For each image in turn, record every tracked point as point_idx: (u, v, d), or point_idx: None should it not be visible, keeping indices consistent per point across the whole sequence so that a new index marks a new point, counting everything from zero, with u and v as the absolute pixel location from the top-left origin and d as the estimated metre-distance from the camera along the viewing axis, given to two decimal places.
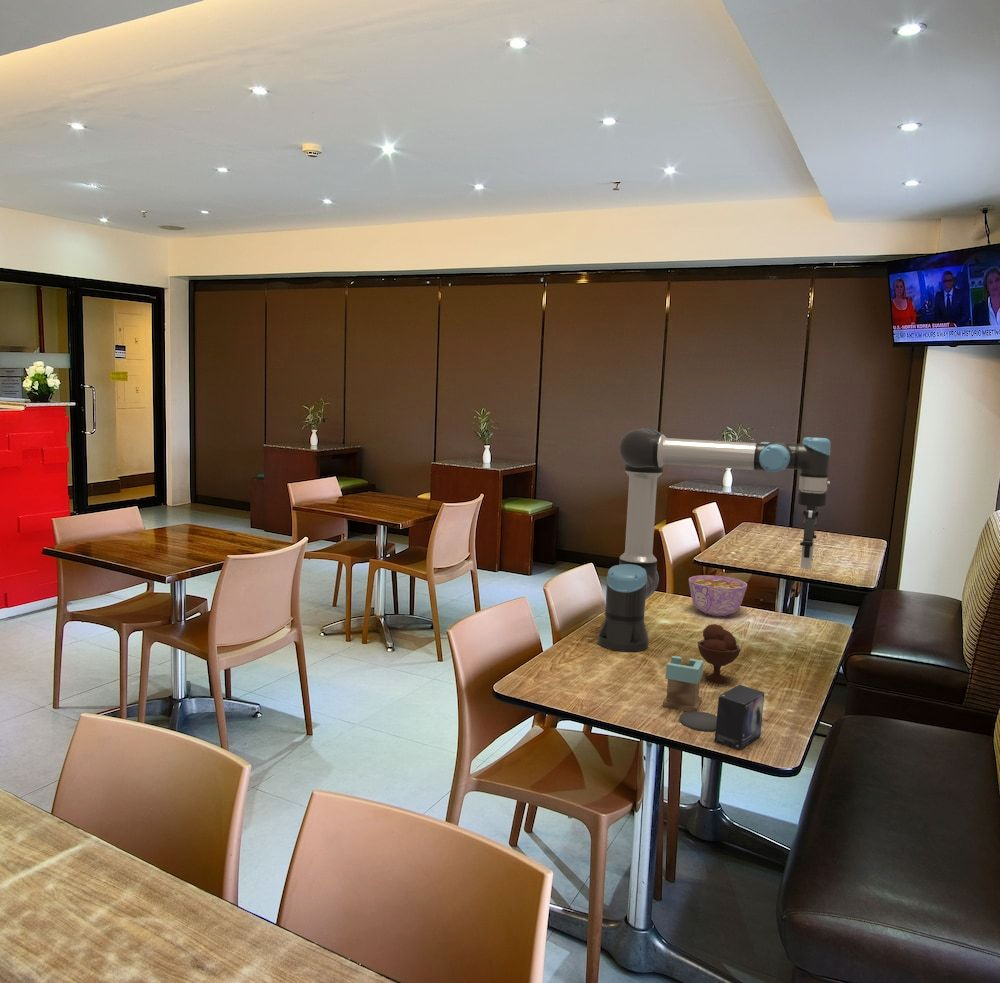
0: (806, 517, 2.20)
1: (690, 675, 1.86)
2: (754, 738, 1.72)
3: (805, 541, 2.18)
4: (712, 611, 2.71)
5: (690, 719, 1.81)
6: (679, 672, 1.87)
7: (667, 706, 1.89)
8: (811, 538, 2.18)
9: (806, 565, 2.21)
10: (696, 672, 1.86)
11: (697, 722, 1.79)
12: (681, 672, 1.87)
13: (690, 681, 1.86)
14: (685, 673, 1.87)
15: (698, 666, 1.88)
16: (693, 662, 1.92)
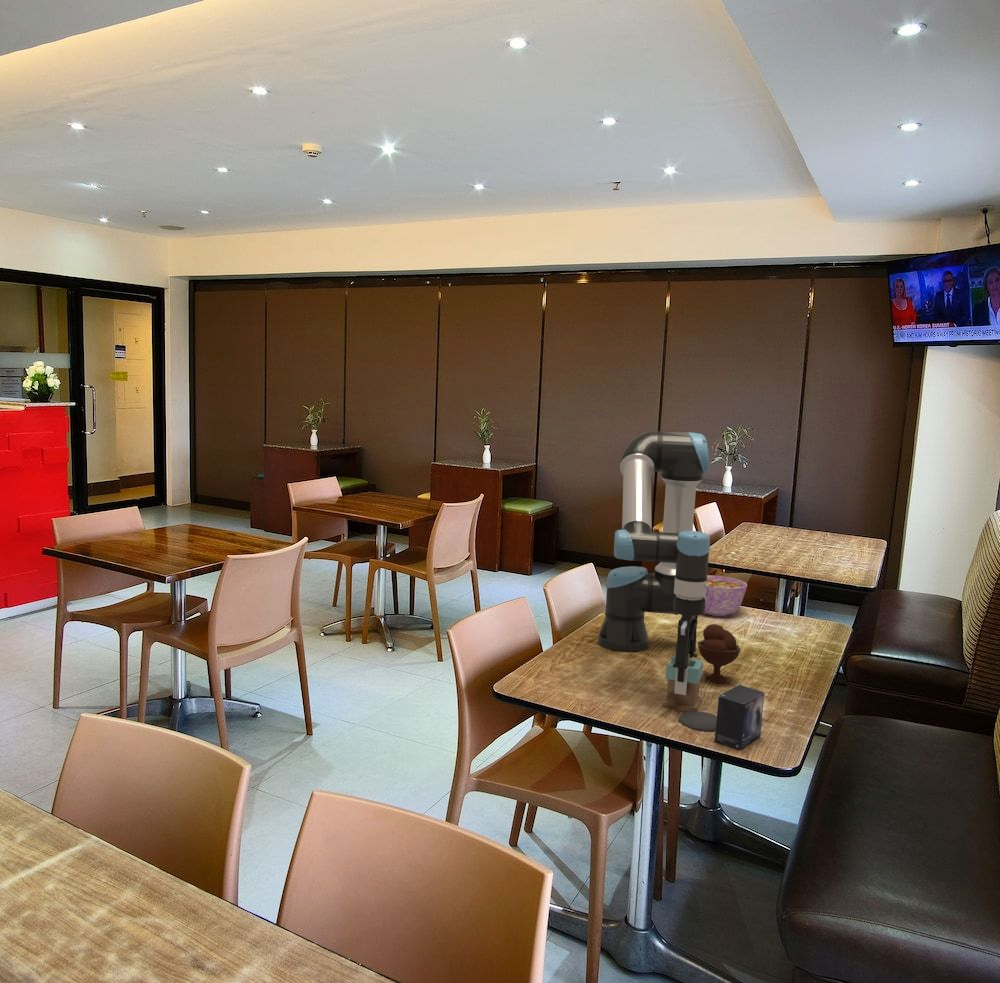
0: (678, 634, 1.84)
1: (690, 675, 1.86)
2: (754, 738, 1.72)
3: (677, 664, 1.84)
4: (712, 611, 2.71)
5: (690, 719, 1.81)
6: None
7: (667, 706, 1.89)
8: (684, 661, 1.83)
9: (681, 690, 1.87)
10: (696, 672, 1.86)
11: (697, 722, 1.79)
12: None
13: (690, 681, 1.86)
14: None
15: (698, 666, 1.88)
16: (693, 662, 1.92)
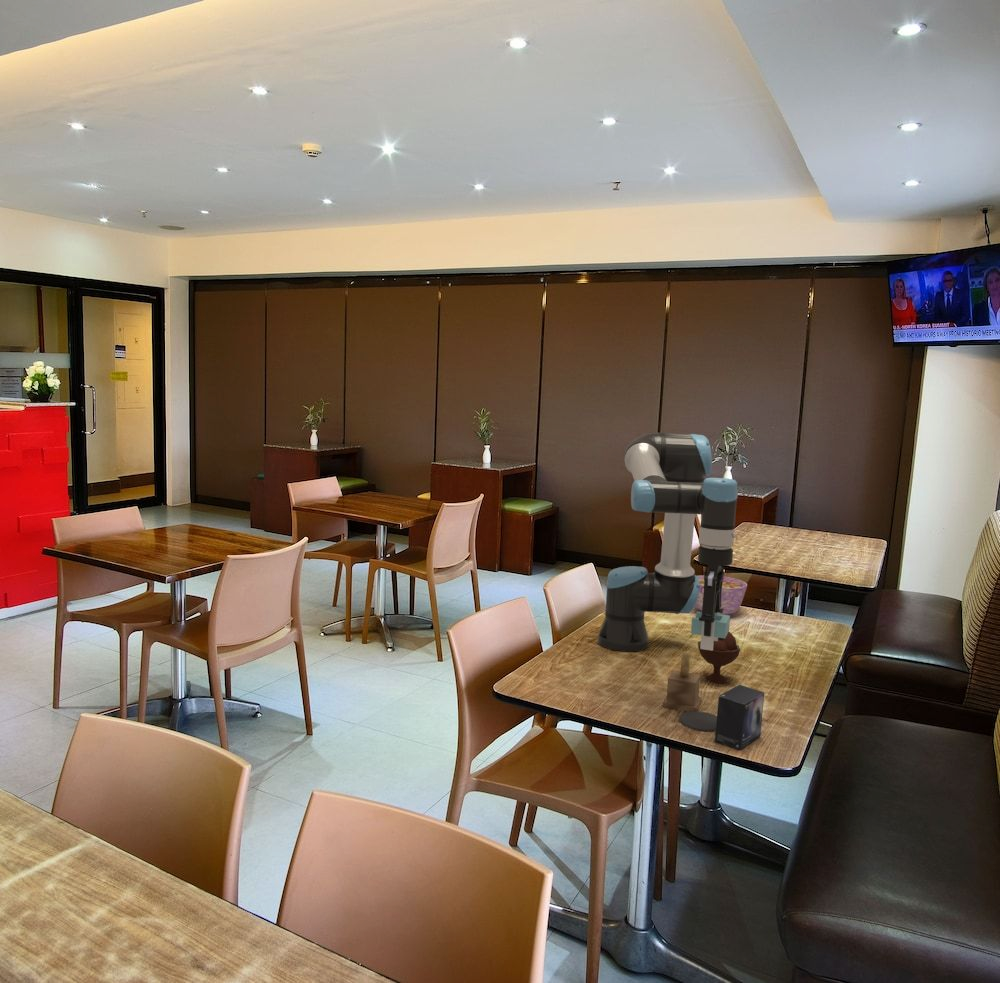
0: (705, 585, 1.73)
1: (717, 629, 1.76)
2: (754, 738, 1.72)
3: (704, 616, 1.73)
4: None
5: (690, 719, 1.81)
6: None
7: (667, 706, 1.89)
8: (711, 613, 1.73)
9: (707, 645, 1.76)
10: (724, 626, 1.75)
11: (697, 722, 1.79)
12: None
13: (717, 635, 1.76)
14: None
15: (725, 620, 1.77)
16: (719, 617, 1.81)
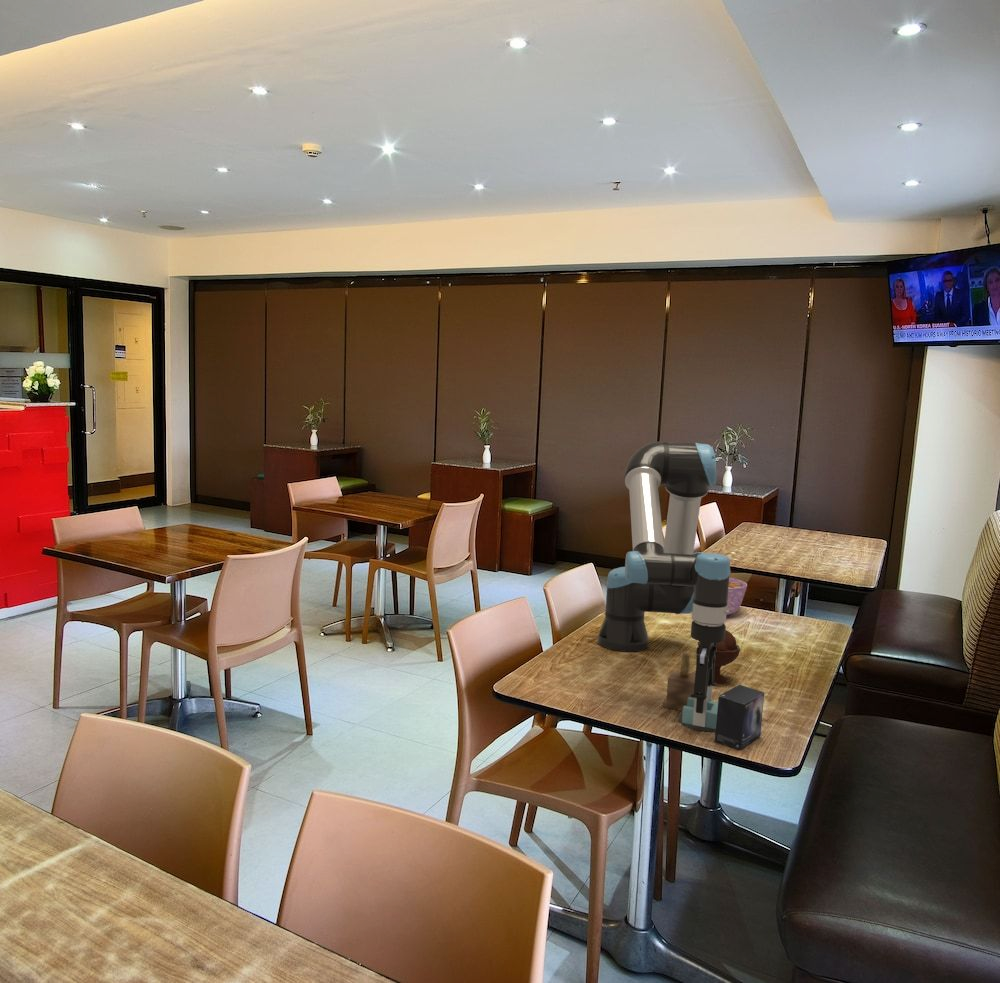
0: (697, 663, 1.74)
1: (708, 719, 1.76)
2: (754, 738, 1.72)
3: (696, 694, 1.73)
4: None
5: None
6: None
7: (667, 706, 1.89)
8: (703, 691, 1.73)
9: (699, 721, 1.76)
10: (714, 716, 1.76)
11: None
12: None
13: (708, 726, 1.77)
14: None
15: (716, 710, 1.78)
16: (710, 704, 1.82)
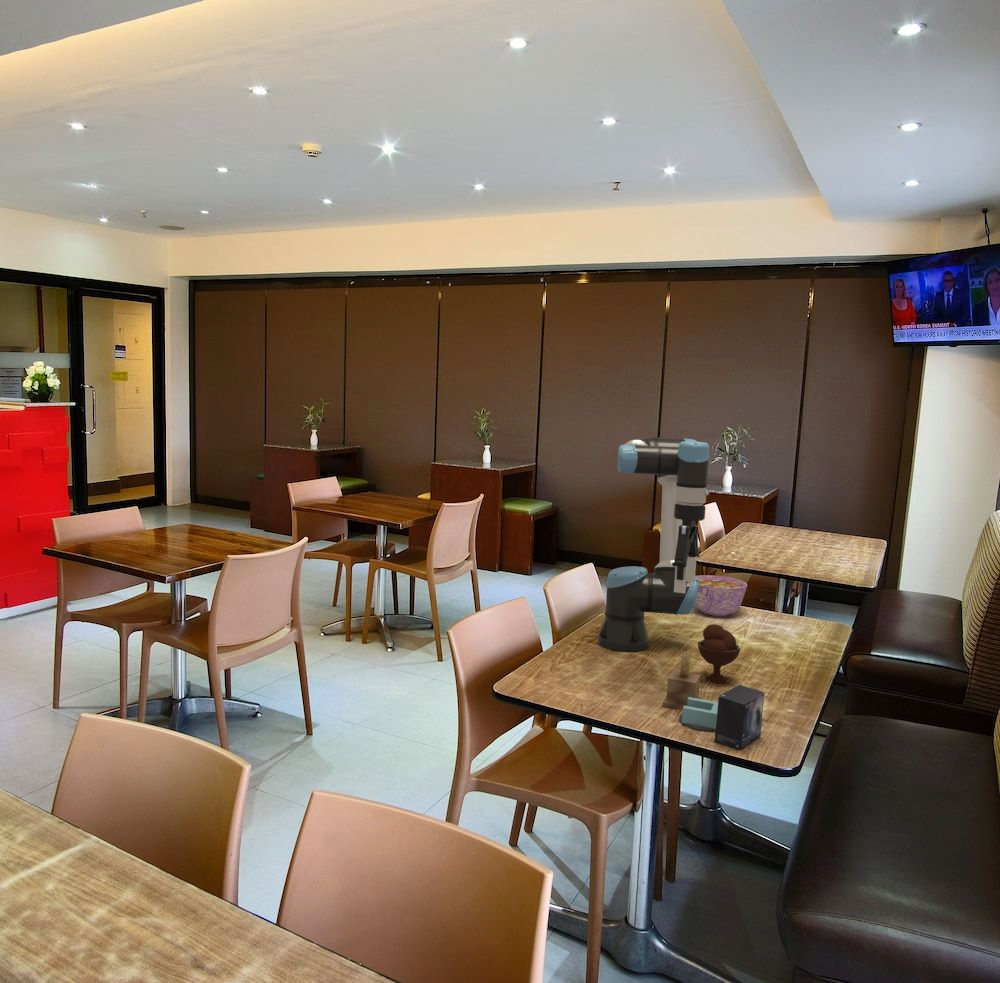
0: (679, 533, 1.91)
1: (708, 719, 1.76)
2: (754, 738, 1.72)
3: (677, 561, 1.89)
4: (712, 611, 2.71)
5: None
6: (696, 716, 1.77)
7: (667, 706, 1.89)
8: (683, 558, 1.89)
9: (680, 588, 1.92)
10: (714, 716, 1.76)
11: None
12: (698, 716, 1.77)
13: (708, 726, 1.77)
14: (703, 718, 1.77)
15: (716, 710, 1.78)
16: (710, 704, 1.82)
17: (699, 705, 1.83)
